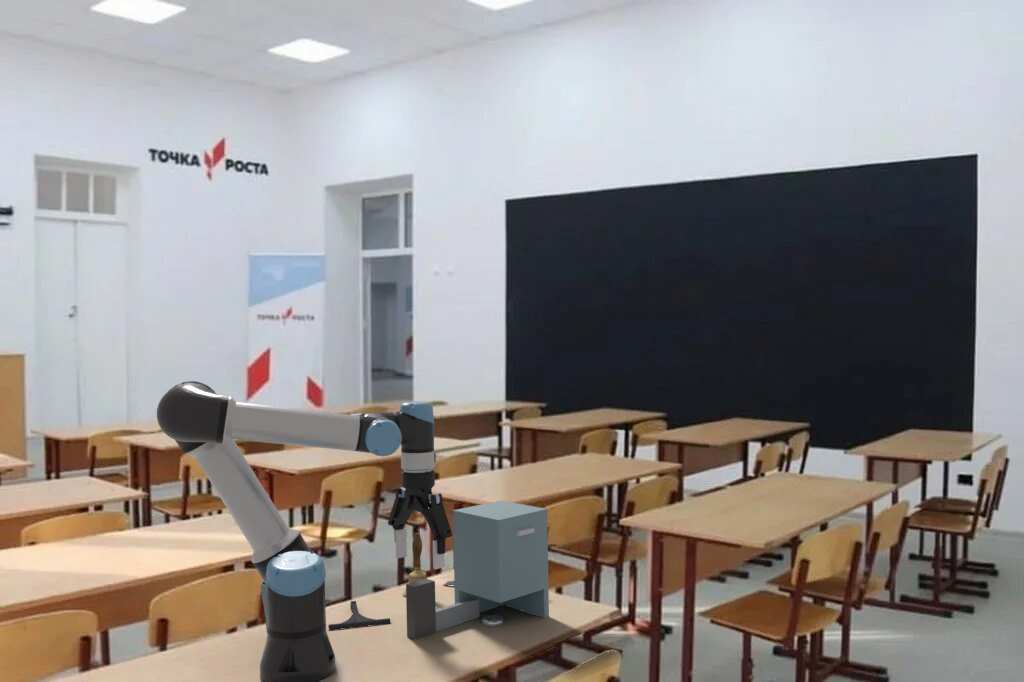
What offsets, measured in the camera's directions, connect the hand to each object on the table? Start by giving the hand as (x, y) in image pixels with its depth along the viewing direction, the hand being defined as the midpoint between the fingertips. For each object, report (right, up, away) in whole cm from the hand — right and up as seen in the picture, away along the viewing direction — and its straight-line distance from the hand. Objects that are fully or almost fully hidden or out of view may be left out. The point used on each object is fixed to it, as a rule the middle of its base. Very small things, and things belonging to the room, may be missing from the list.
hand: (419, 562), depth 206 cm
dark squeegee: (-17, -17, +14) cm, 28 cm away
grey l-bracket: (+5, -16, +5) cm, 18 cm away
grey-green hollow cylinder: (-31, -17, +2) cm, 35 cm away
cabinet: (+19, -16, +11) cm, 27 cm away
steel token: (+16, -16, +8) cm, 25 cm away
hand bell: (-4, -16, +32) cm, 36 cm away
